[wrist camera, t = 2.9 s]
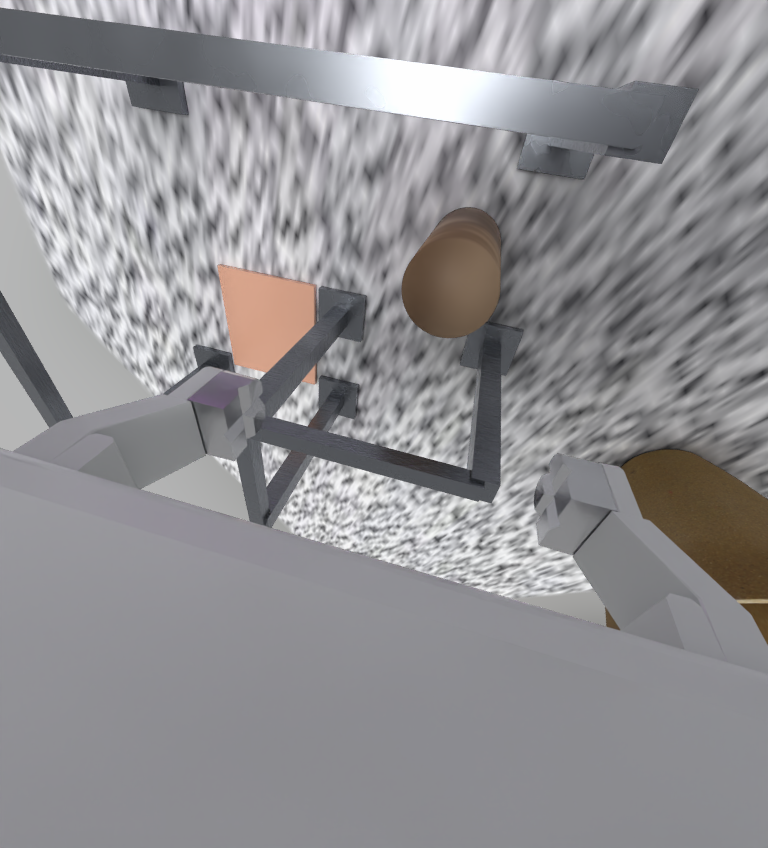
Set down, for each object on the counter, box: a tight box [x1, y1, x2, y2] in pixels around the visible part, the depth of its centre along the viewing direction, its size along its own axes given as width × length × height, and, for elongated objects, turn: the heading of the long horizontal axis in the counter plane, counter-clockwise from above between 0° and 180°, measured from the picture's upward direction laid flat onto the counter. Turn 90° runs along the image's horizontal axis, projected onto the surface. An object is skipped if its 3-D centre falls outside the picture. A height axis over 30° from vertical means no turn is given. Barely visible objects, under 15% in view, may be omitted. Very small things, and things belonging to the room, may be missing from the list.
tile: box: [217, 264, 317, 384], centre depth 34 cm, size 9×10×1 cm
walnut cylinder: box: [402, 207, 501, 338], centre depth 22 cm, size 5×5×10 cm
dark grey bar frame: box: [0, 8, 699, 528], centre depth 24 cm, size 31×27×16 cm
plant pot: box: [605, 449, 768, 645], centre depth 27 cm, size 15×15×16 cm
